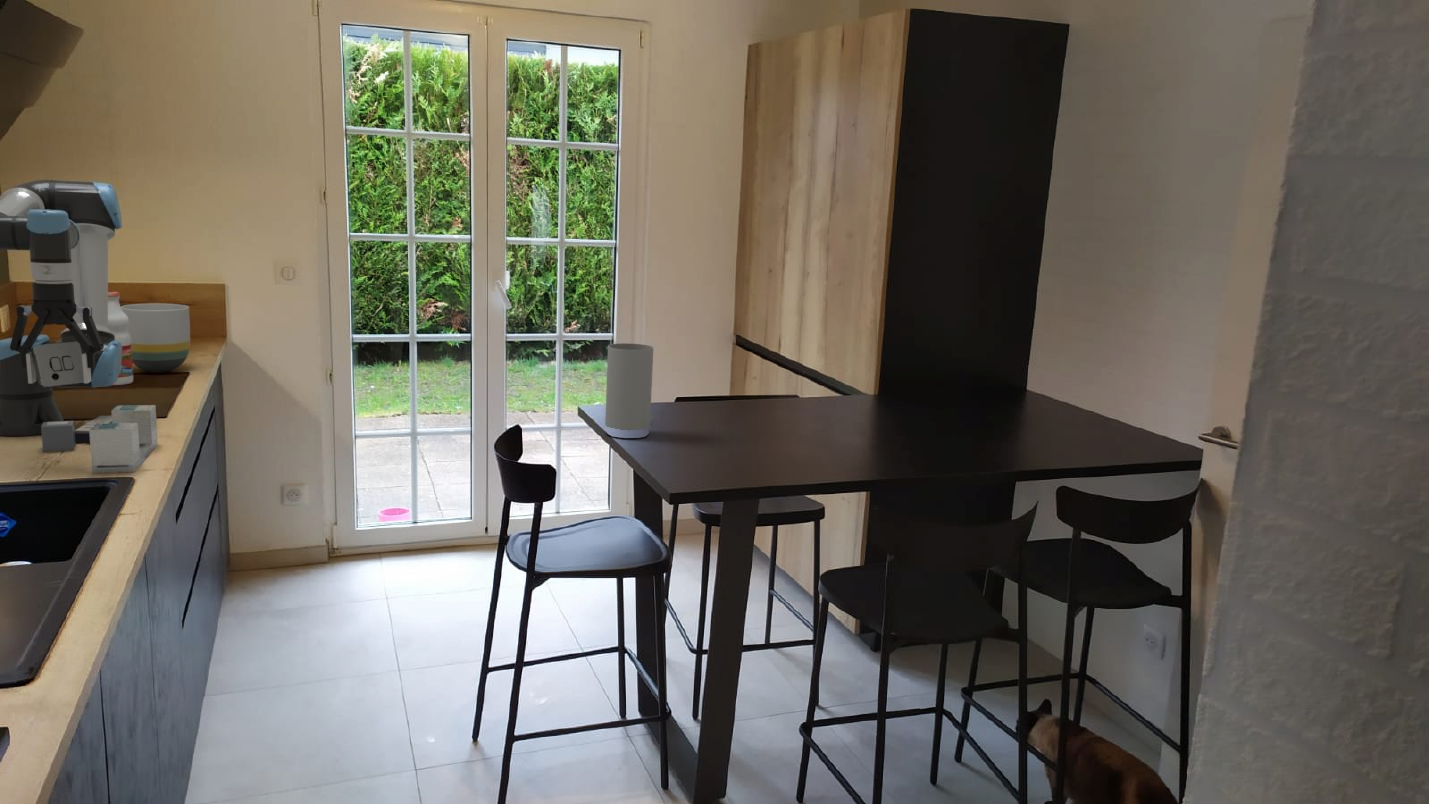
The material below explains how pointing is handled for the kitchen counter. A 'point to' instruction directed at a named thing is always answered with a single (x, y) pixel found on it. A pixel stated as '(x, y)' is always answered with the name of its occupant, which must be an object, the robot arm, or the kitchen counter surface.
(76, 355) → the electrical switch
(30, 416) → the robot arm
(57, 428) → the block
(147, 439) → the grey u-shaped block
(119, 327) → the fruit juice
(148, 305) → the planter
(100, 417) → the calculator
